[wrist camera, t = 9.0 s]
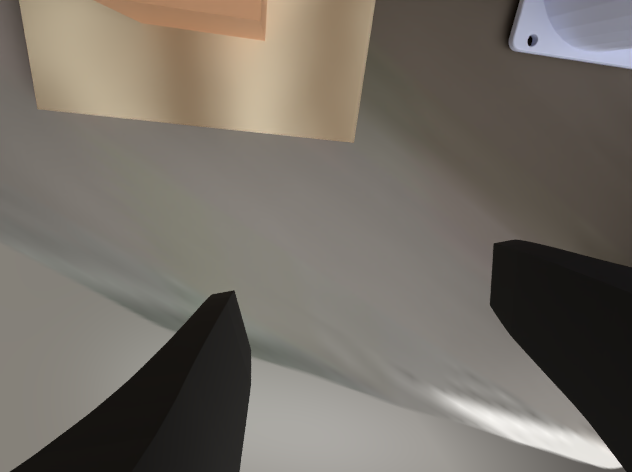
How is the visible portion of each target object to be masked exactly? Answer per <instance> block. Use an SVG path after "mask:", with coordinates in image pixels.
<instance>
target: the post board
mask: <svg viewBox="0 0 632 472" xmlns="http://www.w3.org/2000/svg"><path fill="white" fill-rule="evenodd" d="M19 3H20V9H21V15H22V21H23V26H24V32H25V38H26V44H27V50H28V56H29V62H30V67H31V73H32V79H33V85H34V91H35V97H36V102H37V108H38V109H41V110H51V111H60V112H70V113H79V114H88V115H98V116H107V117H117V118H126V119H135V120H145V121H154V122H164V123H173V124H183V125H192V126H201V127H211V128H220V129H230V130H239V131H248V132H258V133H267V134H277V135H286V136H295V137H305V138H314V139H324V140H333V141H343V142H352V143H354V137H355V131H356V124H357V118H358V111H359V105H360V98H361V91H362V85H363V78H364V72H365V65H366V59H367V52H368V45H369V39H370V32H371V26H372V19H373V13H374V6H375V0H267V15H266V33H265V41H262V40H255V39H248V38H241V37H234V36H227V35H220V34H213V33H206V32H199V31H192V30H186V29H179V28H172V27H165V26H158V25H151V24H144V23H140V22H138V21H136V20H134V19H132V18H130V17H128V16H125V15H123V14H121V13H119V12H117V11H115V10H113V9H111V8H109V7H107V6H104V5H102V4H100V3H98V2H96V1H94V0H19Z"/></svg>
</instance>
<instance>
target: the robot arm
mask: <svg viewBox="0 0 632 472" xmlns="http://www.w3.org/2000/svg"><path fill="white" fill-rule="evenodd" d="M529 36H531V37H532V44H531V45H530V46H528V43H527V41H528V38H529ZM509 47H510V48H511V50H513V51H516V52H522V53H529V54H536V55H542V56H549V57H555V58H562V59H568V60H575V61H581V62H588V63H594V64H601V65H607V66H614V67H620V68H627V69H632V0H520V2H519V5H518V9H517V12H516V16H515V19H514V23H513V26H512V30H511V33H510V37H509ZM490 306H491V308H492V309H493V311H494V312H495V314H496V315H497V317H498V318H499V320H500V321H501V323H502V324H503V326H504V327H505V328H506V330H507V331H508V332H509V334H510V335H511V336H512V337H513V339H514V340H515V341H516V342H517V343H518V344H519V345H520V346H521V348H522V349H523V350H524V351H525V352H526V353H527V354H528V355H529V356H530V358H531V359H532V360H533V361H534V362H535V363H536V364H537V365H538V366H539V367H540V368H541V370H542V371H543V372H544V373H545V374H546V375H547V376H548V377H549V378H550V379H551V380H552V381H553V383H554V384H555V385H556V386H557V387H558V388H559V389H560V390H561V391H562V392H563V393H564V394H565V396H566V397H567V398H568V399H569V400H570V401H571V402H572V403H573V404H574V405H575V407H576V408H577V409H578V410H579V411H580V412H581V414H582V415H583V416H584V417H585V418H586V419H587V421H588V422H589V423H590V424H591V426H592V427H593V428H594V430H595V431H596V432H597V434H598V435H599V436H600V437H601V439H602V440H603V441H604V443H605V444H606V445H607V447H608V448H609V449H610V451H611V452H612V453H613V454H614V456H615V457H616V458H617V460H618V461H619V462H620V464H621V465H622V466H623V468H624V469H625V470H626V472H632V268H631V267H627V266H623V265H619V264H615V263H611V262H607V261H603V260H599V259H596V258H592V257H588V256H584V255H580V254H577V253H573V252H569V251H565V250H561V249H557V248H554V247H550V246H546V245H541V244H537V243H532V242H528V241H522V240H510V241H505V242H499V243H494V248H493V264H492V280H491V296H490ZM250 387H251V348H250V345H249V341H248V337H247V334H246V330H245V327H244V323H243V320H242V316H241V312H240V309H239V305H238V302H237V298H236V295H235V291H228V292H223V293H217V294H212V295H211V296H210V297H209V298H208V299H207V300H206V301H205V302H204V303H203V304H202V305H201V306H200V307H199V308H198V309H197V311H196V312H195V313H194V314H193V315H192V316H191V317H190V318H189V319H188V321H187V322H186V323H185V324H184V325H183V326H182V327H181V328H180V329H179V330H178V331H177V332H176V334H175V335H174V336H173V337H172V338H171V339H170V340H169V341H168V342H167V343H166V344H165V345H164V346H163V347H162V348H161V349H160V350H159V351H158V352H157V353H156V354H155V355H154V356H153V357H152V358H151V359H150V360H149V361H148V362H147V363H146V364H145V365H144V366H143V367H142V368H141V369H140V370H139V371H138V372H137V373H136V374H135V375H134V376H133V377H131V379H130V380H128V381H127V382H126V383H125V384H124V385H123V386H122V387H120V388H119V389H118V390H117V391H116V392H115V393H113V394H112V395H111V396H110V397H109V398H107V399H106V400H105V401H104V402H103V403H101V404H100V405H99V406H98V407H97V408H96V409H94V410H93V411H92V412H91V413H90V414H88V415H87V416H86V417H84V418H83V419H82V420H80V421H79V422H78V423H76V424H75V425H74V426H72V427H71V428H70V429H68V430H67V431H66V432H64V433H63V434H62V435H60V436H59V437H58V438H56V439H55V440H54V441H52V442H51V443H50V444H48V445H47V446H46V447H44V448H43V449H42V450H40V451H39V452H38V453H36V454H35V455H34V456H32V457H31V458H29V459H28V460H26V461H25V462H24V463H22V464H21V465H19V466H18V467H16V468H15V469H13V470H12V471H10V472H239V470H240V463H241V456H242V448H243V441H244V433H245V426H246V418H247V411H248V403H249V396H250Z"/></svg>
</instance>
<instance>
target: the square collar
mask: <svg viewBox="0 0 632 472" xmlns="http://www.w3.org/2000/svg"><path fill="white" fill-rule="evenodd" d="M94 1H96V2H98V3H100V4H102V5H104V6H107V7H109V8H111V9H113V10H115V11H117V12H119V13H121V14H123V15H125V16H128V17H130V18H132V19H134V20H136V21H138V22H140V23H144V24H151V25H158V26H165V27H172V28H179V29H186V30H192V31H199V32H206V33H213V34H220V35H227V36H234V37H241V38H248V39H255V40H262V41H265V33H266V15H267V0H94Z"/></svg>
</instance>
